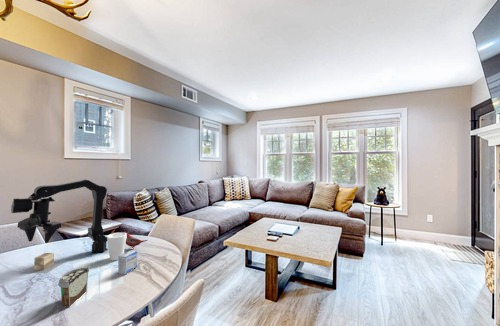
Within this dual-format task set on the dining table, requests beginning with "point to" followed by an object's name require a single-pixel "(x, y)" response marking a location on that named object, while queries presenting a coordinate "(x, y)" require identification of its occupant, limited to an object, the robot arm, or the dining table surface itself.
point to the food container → (73, 285)
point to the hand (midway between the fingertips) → (38, 242)
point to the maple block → (43, 261)
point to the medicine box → (127, 262)
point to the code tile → (45, 269)
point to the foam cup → (116, 245)
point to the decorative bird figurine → (133, 241)
